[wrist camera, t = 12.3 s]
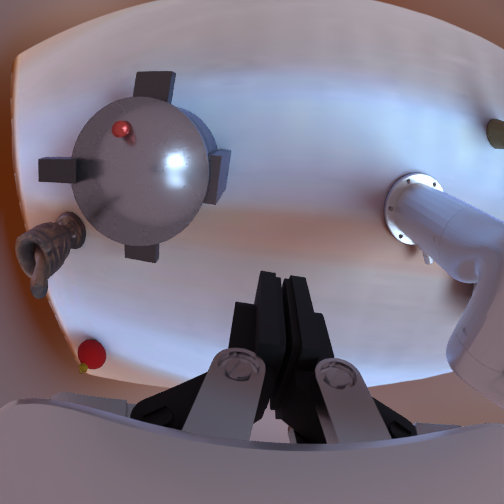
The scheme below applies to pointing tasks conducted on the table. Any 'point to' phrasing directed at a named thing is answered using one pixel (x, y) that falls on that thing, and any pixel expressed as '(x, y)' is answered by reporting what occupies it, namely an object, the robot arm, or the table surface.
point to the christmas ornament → (91, 355)
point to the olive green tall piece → (496, 133)
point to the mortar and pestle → (48, 249)
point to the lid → (136, 171)
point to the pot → (162, 89)
